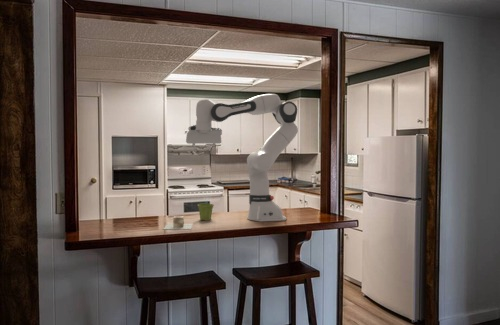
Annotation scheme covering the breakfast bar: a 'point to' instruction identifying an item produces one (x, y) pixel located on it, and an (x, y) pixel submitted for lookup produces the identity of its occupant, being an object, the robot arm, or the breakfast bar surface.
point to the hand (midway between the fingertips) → (203, 151)
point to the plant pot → (205, 211)
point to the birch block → (178, 221)
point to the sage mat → (170, 226)
